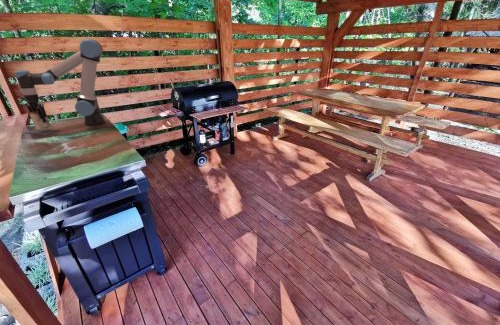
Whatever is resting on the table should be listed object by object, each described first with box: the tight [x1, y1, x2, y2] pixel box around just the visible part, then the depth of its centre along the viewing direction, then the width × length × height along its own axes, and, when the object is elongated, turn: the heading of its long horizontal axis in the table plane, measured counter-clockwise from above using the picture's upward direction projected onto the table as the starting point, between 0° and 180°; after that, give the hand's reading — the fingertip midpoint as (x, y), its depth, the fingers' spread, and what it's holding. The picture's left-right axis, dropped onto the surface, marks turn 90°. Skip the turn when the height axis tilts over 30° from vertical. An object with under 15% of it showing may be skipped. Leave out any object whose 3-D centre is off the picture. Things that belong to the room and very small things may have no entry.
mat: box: [24, 128, 60, 136], centre depth 177 cm, size 10×20×1 cm, turn 78°
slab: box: [28, 111, 52, 129], centre depth 173 cm, size 8×4×12 cm, turn 167°
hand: (43, 126), depth 175 cm, fingers closed on slab, 4 cm apart
